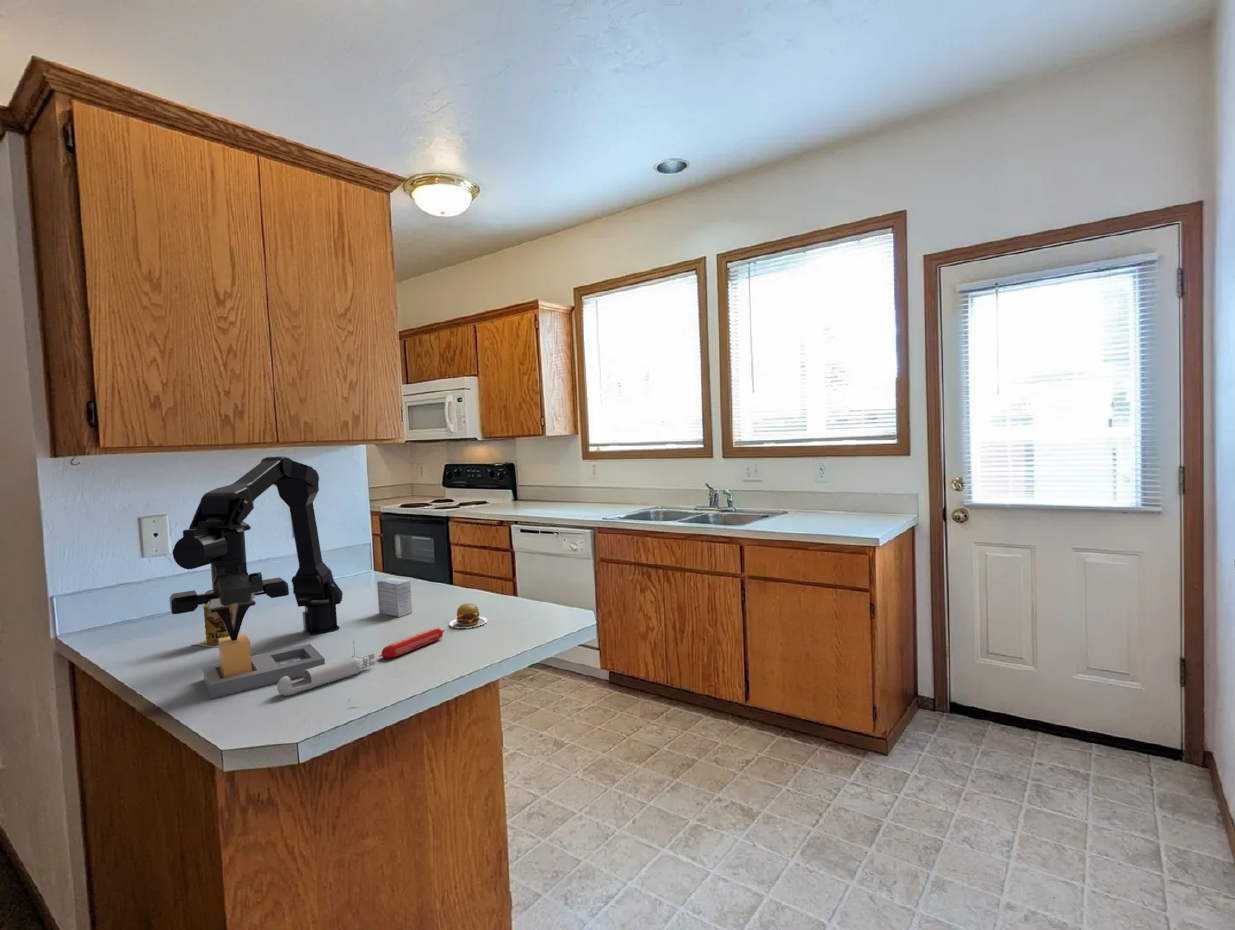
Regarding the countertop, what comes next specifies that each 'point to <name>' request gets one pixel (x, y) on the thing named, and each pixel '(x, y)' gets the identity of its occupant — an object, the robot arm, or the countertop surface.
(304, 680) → the torpedo
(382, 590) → the medicine box
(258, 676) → the socket plate
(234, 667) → the plug
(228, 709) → the countertop surface
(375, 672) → the countertop surface
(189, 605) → the robot arm
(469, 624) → the hamburger
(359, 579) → the countertop surface
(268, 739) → the countertop surface
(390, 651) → the red sausage
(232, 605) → the condiment
